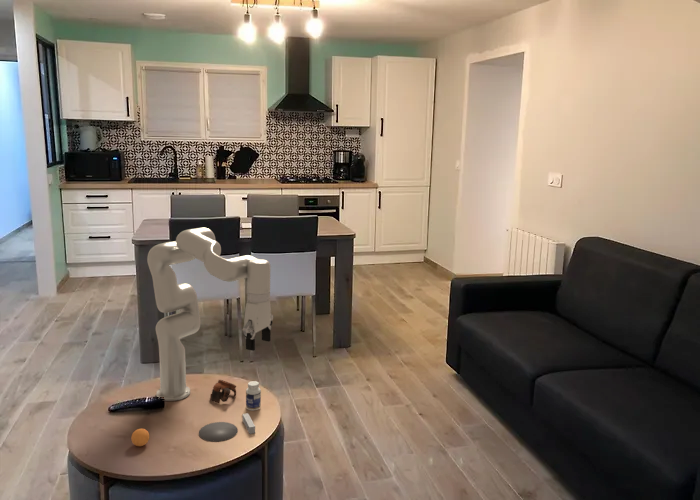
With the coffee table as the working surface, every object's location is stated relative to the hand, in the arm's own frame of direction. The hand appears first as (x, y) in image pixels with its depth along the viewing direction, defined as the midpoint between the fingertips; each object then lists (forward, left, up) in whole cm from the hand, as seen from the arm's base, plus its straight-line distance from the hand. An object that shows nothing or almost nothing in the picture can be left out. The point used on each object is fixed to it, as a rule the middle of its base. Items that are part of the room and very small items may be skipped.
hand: (258, 345), depth 195 cm
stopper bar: (-1, -3, -30) cm, 30 cm away
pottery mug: (-25, -8, -30) cm, 40 cm away
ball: (+1, -38, -27) cm, 47 cm away
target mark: (0, -13, -30) cm, 33 cm away
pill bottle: (-14, +2, -30) cm, 34 cm away
